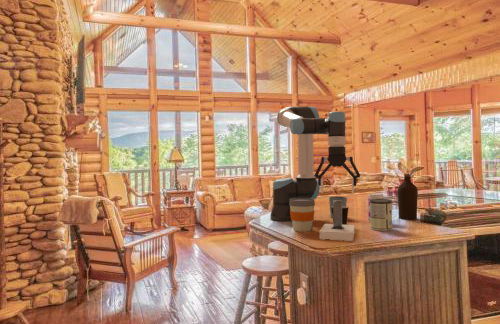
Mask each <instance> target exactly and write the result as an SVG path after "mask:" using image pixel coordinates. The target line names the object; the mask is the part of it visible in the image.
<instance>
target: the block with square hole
mask: <svg viewBox="0 0 500 324" xmlns="http://www.w3.org/2000/svg"><path fill="white" fill-rule="evenodd" d="M355 230H356V225H355V224H347V225H342V229H333V223H324V224H323V225H322V226H321V229H320V230H319V240H325V239H330V240H331V241H343V240H344V241H345V242H347V241H348V242H353V241H354V238H355V233H356V231H355ZM330 240H329V241H330ZM344 241H343V242H344Z"/></svg>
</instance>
